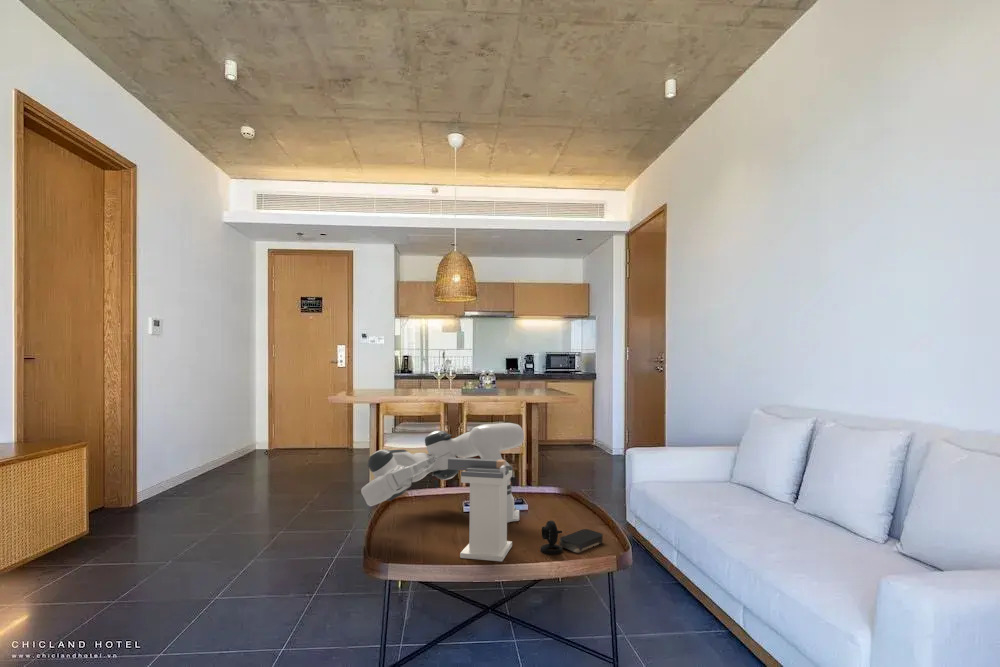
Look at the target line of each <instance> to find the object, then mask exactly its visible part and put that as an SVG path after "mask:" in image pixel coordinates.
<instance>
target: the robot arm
mask: <svg viewBox="0 0 1000 667" xmlns="http://www.w3.org/2000/svg"><path fill="white" fill-rule="evenodd" d="M524 432H525V431H524V429H523V427H521V425H519V424H518V423H512V422H500V423H498V422H497V423H486V424H485V423H484V424H480V425H477V426H475V427H472V429H471V430H470V431H467V432H464V433H462V434H460V435H458V436H456V437H454V438H452V437H451V436H453V434H452V433H450V434H449V433H448V432H446V431H444V430H434V431H431V432H430V433H429V434H427V436H426V437H425V438H424V446H425V447H426V450H427V451H426V452H427V453H426V452H416V453H411V452H410V451H407V450H406V449H386V448H384V449H379V450H377V451H375V452H374V453H372V454H370V456H369V457H368V461H367V467H368V468H369V471H370V472H371V473H372V475H373V477H374V479H372V480H370V481H369V482H368V483H366V484H365V485H364V486H363V487H361V489H360V491H361V492H360V494H361V497H362V500H364V503H365V504H366V505H367V506H369V507H373V506H376V505H378V504H382V503H384V502H385V501H392V500H394V499H396V498H397V497H399V496H401V495H403V494H405V492H406V490H408V489H409V488H410V487H411V486H412V483H416V482H419V481H420V480H422V479H424V478H426V476H427V475H428V474H430V473H432V474H431V476H432V477H436V478H437V479H439V480H442V481H443V480H451V479H453V478H454V477H455V476H456V475H457V474H458V473H459V471H460V470H448V459H449V458H474V457H477V456H479V457H480V459H496V460H504V459H503V457H502V454H501V452H503V451H508V450H512V449H514V448H517V447H519V446H521V445H522V444H523V442H524V439H525V435H524V434H525V433H524ZM506 466H511V464H510V463H509V462H507V460H506ZM512 489H513V488H512V482H511V478H509V479H508V480H507V523H510V522H511V523H512V522H518V521H520V509H519V510H516V509H517V507H515V498H514V496H513V494H512Z"/></svg>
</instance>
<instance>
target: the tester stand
mask: <svg viewBox="0 0 1000 667" xmlns="http://www.w3.org/2000/svg"><path fill="white" fill-rule="evenodd" d="M505 467H506V469H505ZM460 475H461V476H460V481H461V482H460V483H462V484H465V483H466V484H469V531H468V532H469V534H468V535H469V536H468V537H469V539H468V540H469V543H468V544H466V546H465V547H464V548H463V550H461V552H460V554H459V557H460V559H468V560H469V559H471V560H481V561H492V562H503V561H504V559H505V558H506V556H507V555H508V553H509V551H510V550H511V548H512V547H513V541H510V540H508V522H507V480H508V479H509V478H510V479H511V478H512V476H513V465H510V466H504V465H502V466H501V467H500V468H483V467H469V468H467V470H461V474H460Z"/></svg>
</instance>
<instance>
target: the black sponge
mask: <svg viewBox="0 0 1000 667" xmlns="http://www.w3.org/2000/svg"><path fill="white" fill-rule="evenodd" d="M603 536H604V534H603V533H601V532H598V531H595V530H592V529H588V528H583V529H579V530H577V531H575V532H572V533H570V534H567V535H564V536H560V539H559V546H561V547H562V548H563V549H566V550H569V551H571V552H573V553H576V554H577V553H582V552H583V551H586V550H588V548H589V549H590V548H594V547H596V546H600V545H601V544H602V543H603V540H604V538H603ZM599 544H600V545H599ZM593 546H594V547H593Z"/></svg>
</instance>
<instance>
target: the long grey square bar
mask: <svg viewBox="0 0 1000 667" xmlns="http://www.w3.org/2000/svg"><path fill="white" fill-rule="evenodd" d="M506 461H507V460H506V459H503V460H496V459H481V458H474V457H469V458H462V457H456V458H449V459H448V470H459V471H467V468H469V467H483V468H500V467H501V466H502V465H504V466H506ZM505 469H506V467H505Z"/></svg>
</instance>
